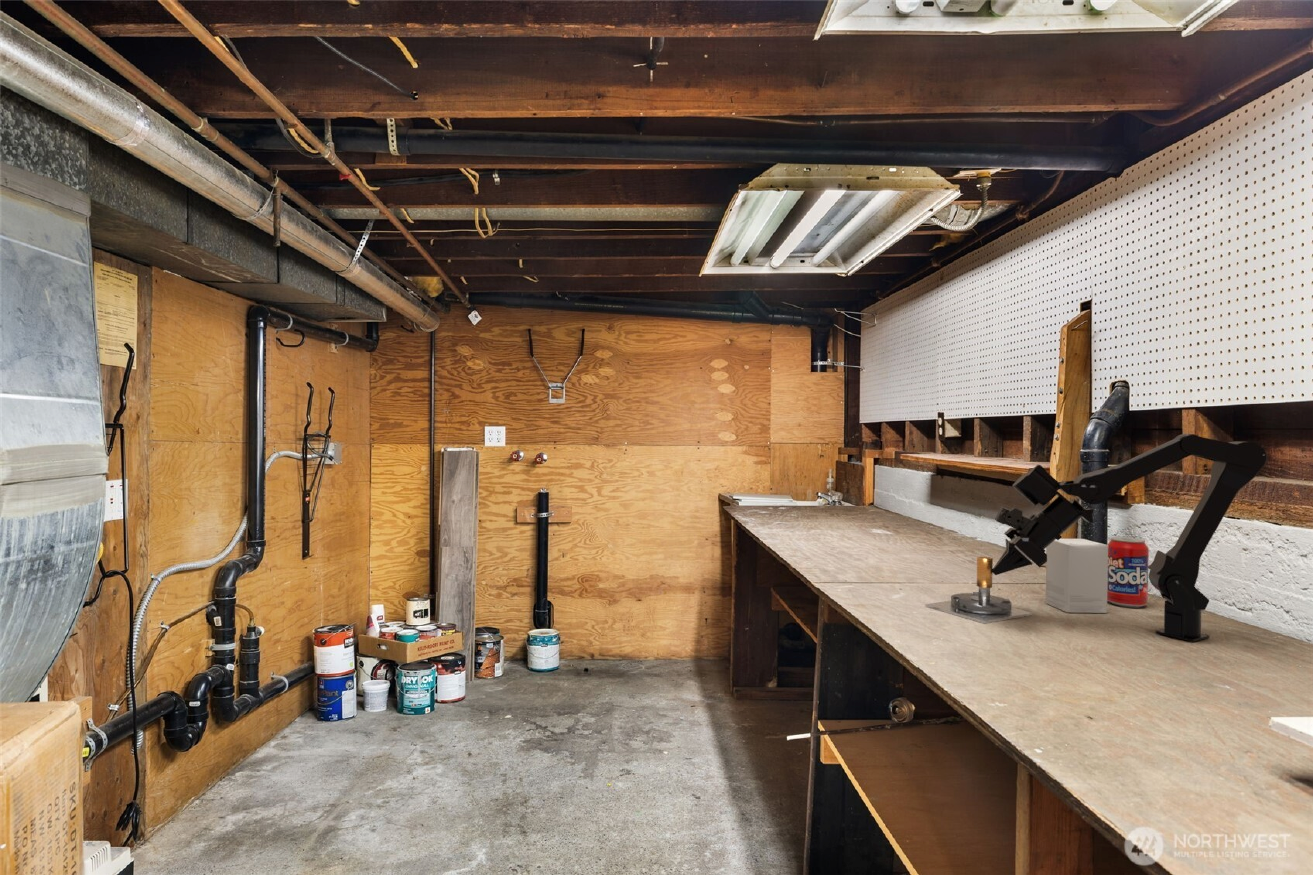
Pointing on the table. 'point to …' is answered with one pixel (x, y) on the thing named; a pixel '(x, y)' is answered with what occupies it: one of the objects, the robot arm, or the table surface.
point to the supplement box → (1077, 575)
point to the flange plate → (977, 617)
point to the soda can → (1127, 572)
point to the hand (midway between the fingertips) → (993, 573)
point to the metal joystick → (983, 593)
